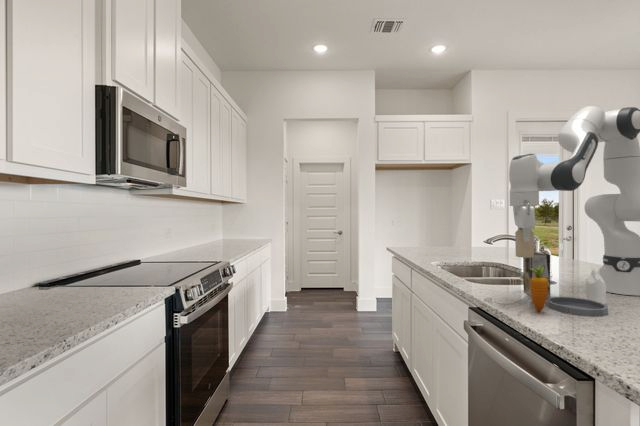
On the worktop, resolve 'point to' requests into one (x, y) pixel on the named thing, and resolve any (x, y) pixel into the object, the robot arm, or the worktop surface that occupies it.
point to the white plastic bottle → (596, 287)
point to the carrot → (539, 289)
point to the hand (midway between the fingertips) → (524, 240)
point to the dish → (577, 306)
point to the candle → (524, 245)
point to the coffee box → (532, 264)
